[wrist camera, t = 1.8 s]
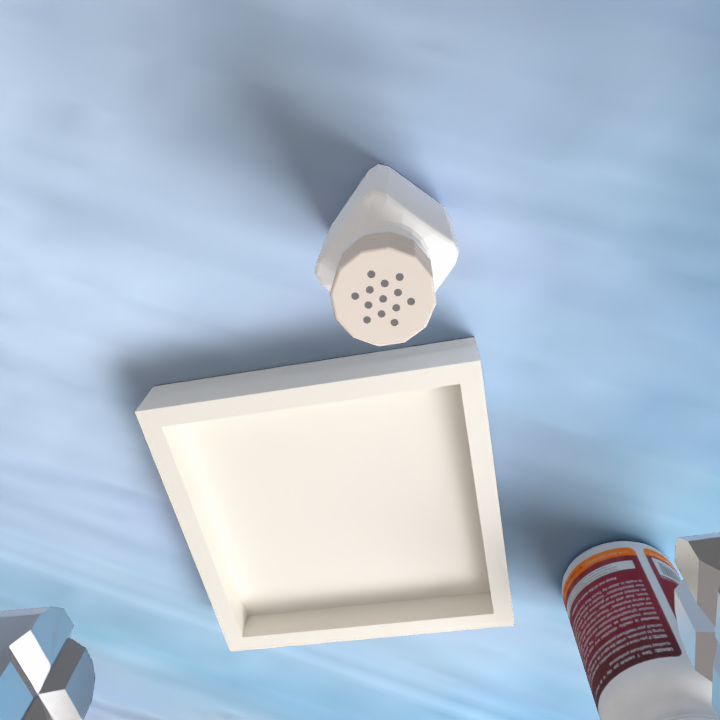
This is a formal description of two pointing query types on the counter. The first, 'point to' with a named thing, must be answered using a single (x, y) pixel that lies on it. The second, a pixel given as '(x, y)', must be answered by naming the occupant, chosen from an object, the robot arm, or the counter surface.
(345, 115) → the counter surface
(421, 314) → the salt shaker
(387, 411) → the tray
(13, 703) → the robot arm
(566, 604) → the pill bottle
